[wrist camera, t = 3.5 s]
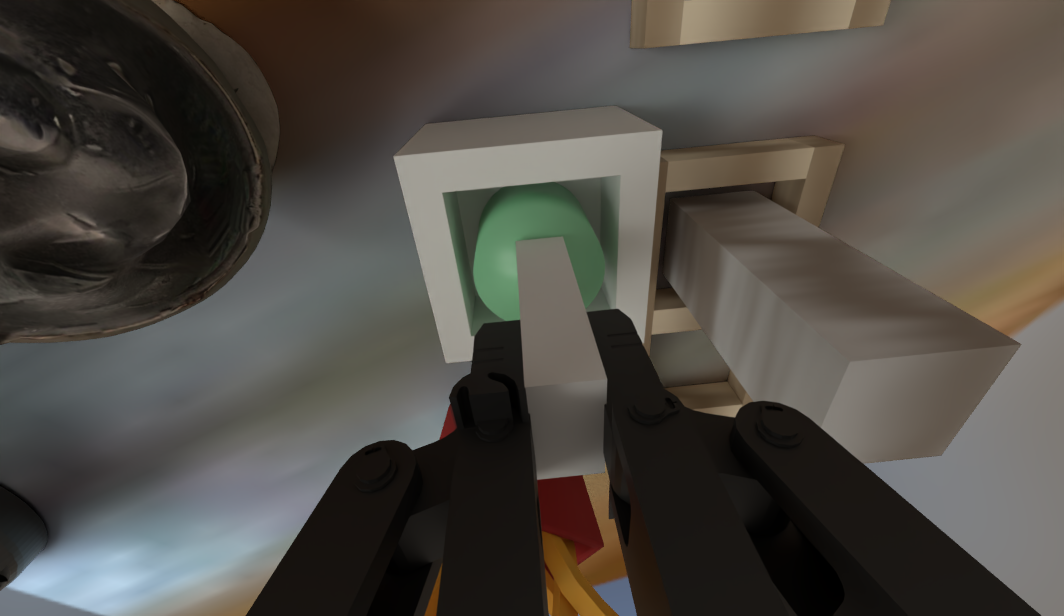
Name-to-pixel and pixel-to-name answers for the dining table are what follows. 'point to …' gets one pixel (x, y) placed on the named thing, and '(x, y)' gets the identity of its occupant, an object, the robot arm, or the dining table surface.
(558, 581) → the french fries
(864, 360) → the pallet
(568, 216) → the button
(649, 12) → the pallet
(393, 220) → the dining table surface
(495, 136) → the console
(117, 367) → the dining table surface
